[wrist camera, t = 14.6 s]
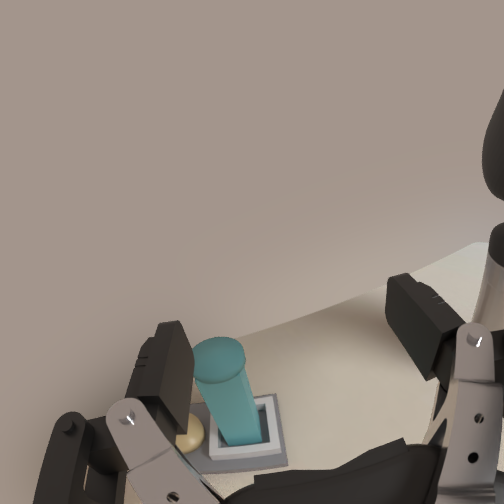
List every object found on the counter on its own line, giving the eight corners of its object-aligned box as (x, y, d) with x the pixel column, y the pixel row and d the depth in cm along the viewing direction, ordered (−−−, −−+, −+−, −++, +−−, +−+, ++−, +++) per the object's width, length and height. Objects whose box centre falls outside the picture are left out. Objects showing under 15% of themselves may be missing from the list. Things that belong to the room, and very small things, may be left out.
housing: (276, 397, 35) (272, 377, 33) (288, 465, 25) (285, 451, 23) (166, 409, 35) (154, 390, 33) (156, 472, 25) (140, 458, 23)
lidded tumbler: (263, 412, 32) (242, 332, 26) (267, 445, 27) (245, 371, 22) (223, 417, 32) (190, 340, 26) (224, 450, 27) (184, 379, 22)
